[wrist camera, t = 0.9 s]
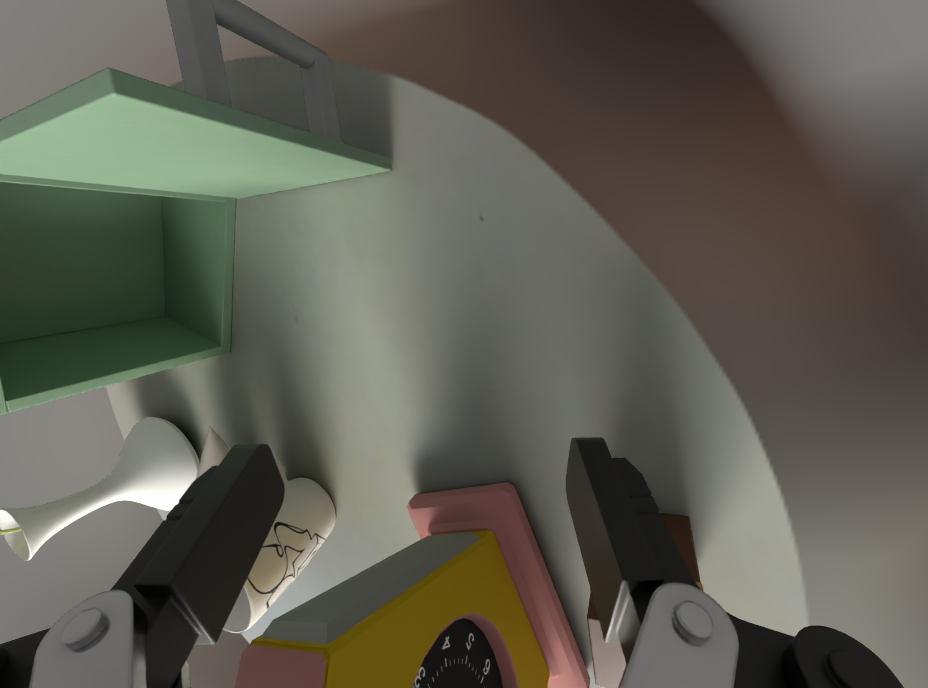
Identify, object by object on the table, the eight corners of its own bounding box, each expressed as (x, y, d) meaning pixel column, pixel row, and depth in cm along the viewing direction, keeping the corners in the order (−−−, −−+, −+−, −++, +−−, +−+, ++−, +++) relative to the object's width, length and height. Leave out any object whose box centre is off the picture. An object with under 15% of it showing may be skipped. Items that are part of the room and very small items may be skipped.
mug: (257, 443, 39) (145, 502, 30) (314, 430, 35) (204, 494, 27) (299, 544, 40) (203, 629, 32) (358, 542, 37) (268, 639, 28)
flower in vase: (200, 518, 47) (-191, 763, 25) (143, 453, 49) (-267, 626, 27) (229, 451, 41) (-242, 690, 19) (163, 381, 43) (-333, 525, 21)
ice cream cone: (160, 458, 30) (200, 573, 37) (249, 441, 33) (271, 551, 40) (172, 411, 35) (206, 521, 42) (249, 399, 38) (268, 504, 45)
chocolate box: (689, 515, 24) (712, 643, 16) (694, 573, 24) (717, 722, 17) (601, 506, 26) (585, 616, 18) (607, 560, 27) (594, 686, 19)
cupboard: (236, 191, 32) (-73, 155, 18) (230, 352, 37) (-14, 419, 23) (165, 167, 35) (-151, 120, 21) (169, 320, 40) (-82, 363, 26)
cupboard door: (226, 119, 31) (-110, 22, 17) (381, 70, 25) (55, -142, 11) (241, 198, 32) (-59, 168, 18) (392, 170, 26) (114, 94, 12)
